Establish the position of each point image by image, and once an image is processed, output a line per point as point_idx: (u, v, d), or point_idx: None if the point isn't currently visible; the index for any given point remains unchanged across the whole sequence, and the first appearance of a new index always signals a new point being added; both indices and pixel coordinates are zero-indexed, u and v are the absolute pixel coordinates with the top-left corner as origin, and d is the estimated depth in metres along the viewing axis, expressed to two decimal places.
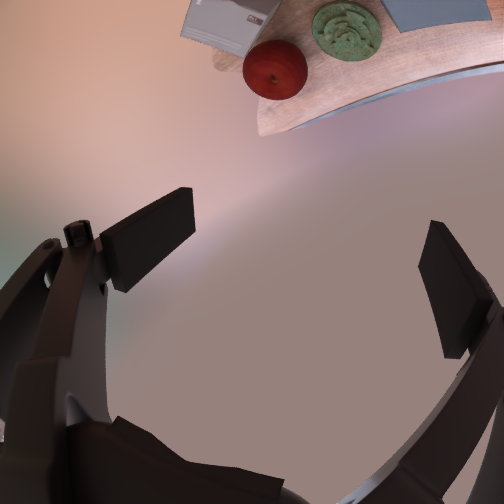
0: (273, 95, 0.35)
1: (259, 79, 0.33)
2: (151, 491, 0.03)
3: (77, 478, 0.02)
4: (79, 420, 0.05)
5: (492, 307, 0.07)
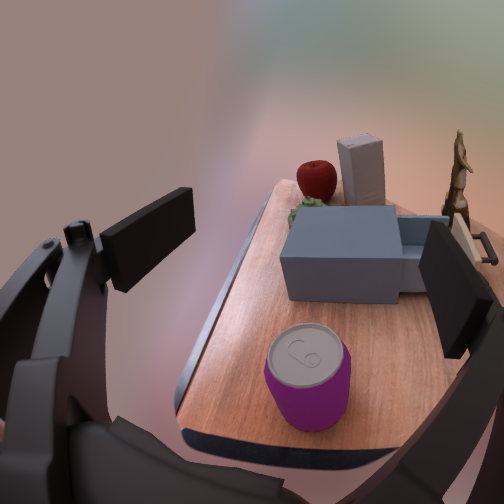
0: (305, 163, 0.62)
1: (318, 163, 0.61)
2: (151, 491, 0.03)
3: (77, 478, 0.02)
4: (79, 420, 0.05)
5: (492, 307, 0.07)
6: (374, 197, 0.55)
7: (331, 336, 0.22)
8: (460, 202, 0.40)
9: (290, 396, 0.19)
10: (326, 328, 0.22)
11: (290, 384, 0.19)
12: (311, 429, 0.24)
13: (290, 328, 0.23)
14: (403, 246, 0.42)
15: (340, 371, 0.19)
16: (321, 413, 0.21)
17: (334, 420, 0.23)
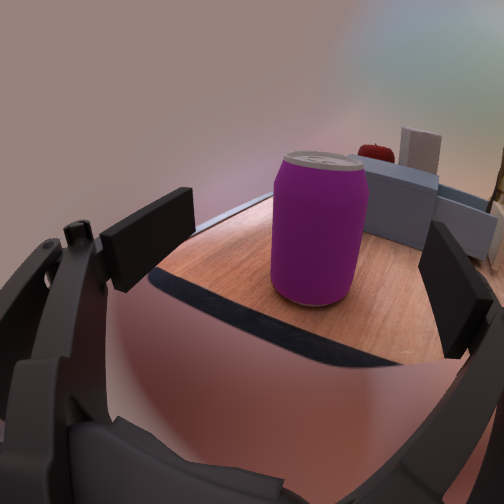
0: None
1: None
2: (151, 491, 0.03)
3: (77, 478, 0.02)
4: (79, 420, 0.05)
5: (492, 307, 0.07)
6: None
7: (354, 163, 0.20)
8: (501, 205, 0.34)
9: (295, 182, 0.19)
10: (350, 157, 0.21)
11: (301, 161, 0.18)
12: (298, 291, 0.22)
13: (316, 152, 0.23)
14: None
15: (356, 175, 0.18)
16: (321, 240, 0.19)
17: (330, 289, 0.21)
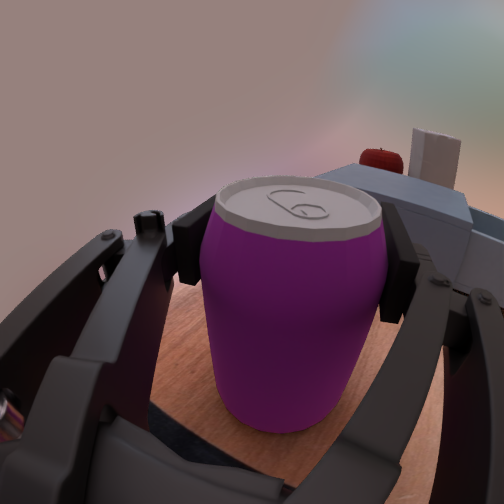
0: None
1: (387, 152, 0.49)
2: (151, 491, 0.03)
3: (93, 492, 0.02)
4: None
5: None
6: None
7: (361, 203, 0.11)
8: None
9: (226, 263, 0.09)
10: (355, 190, 0.11)
11: (238, 217, 0.08)
12: (250, 419, 0.12)
13: (289, 177, 0.13)
14: None
15: (366, 246, 0.08)
16: (282, 372, 0.09)
17: (302, 420, 0.11)
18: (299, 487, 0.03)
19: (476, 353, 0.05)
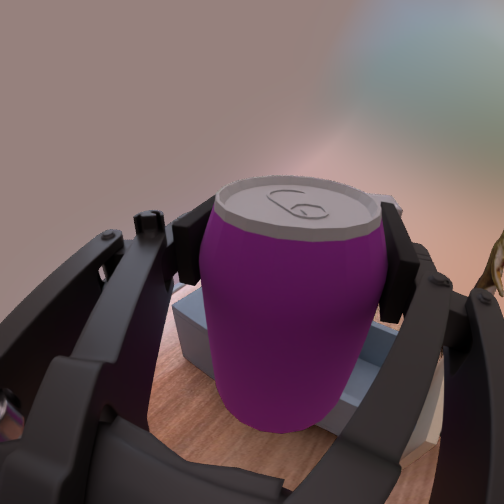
0: None
1: None
2: (151, 491, 0.03)
3: (93, 492, 0.02)
4: None
5: None
6: None
7: (361, 203, 0.11)
8: None
9: (226, 263, 0.09)
10: (354, 190, 0.11)
11: (237, 217, 0.08)
12: (250, 419, 0.12)
13: (289, 177, 0.13)
14: (359, 360, 0.29)
15: (366, 247, 0.08)
16: (282, 372, 0.09)
17: (301, 420, 0.11)
18: (299, 487, 0.03)
19: (476, 353, 0.05)
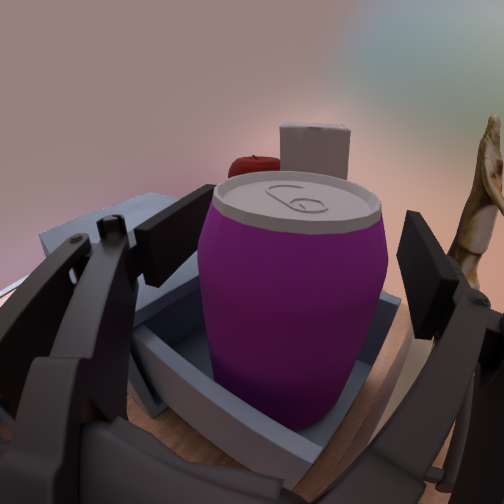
0: None
1: (267, 159, 0.42)
2: (151, 491, 0.03)
3: (85, 484, 0.02)
4: None
5: (461, 289, 0.08)
6: None
7: (360, 198, 0.10)
8: None
9: (224, 257, 0.08)
10: (354, 185, 0.11)
11: (235, 211, 0.08)
12: None
13: (288, 173, 0.12)
14: None
15: (366, 240, 0.08)
16: (281, 369, 0.09)
17: (301, 418, 0.11)
18: (327, 497, 0.02)
19: None
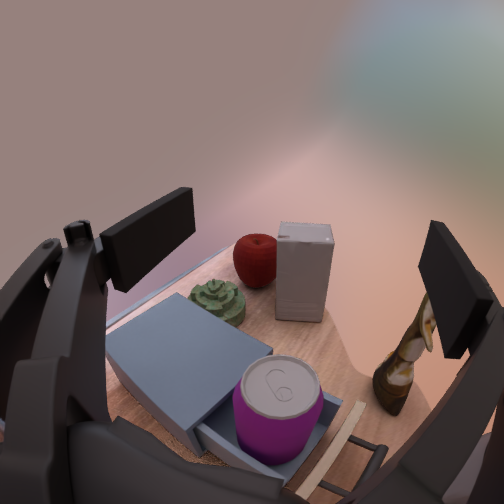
0: (252, 235, 0.53)
1: (266, 239, 0.52)
2: (151, 491, 0.03)
3: (77, 478, 0.02)
4: (79, 421, 0.04)
5: (492, 307, 0.07)
6: (304, 310, 0.44)
7: (313, 380, 0.20)
8: (398, 377, 0.27)
9: (248, 418, 0.18)
10: (311, 370, 0.21)
11: (252, 407, 0.18)
12: (256, 459, 0.21)
13: (278, 356, 0.22)
14: None
15: (306, 415, 0.17)
16: (271, 448, 0.19)
17: (282, 461, 0.21)
18: None
19: None
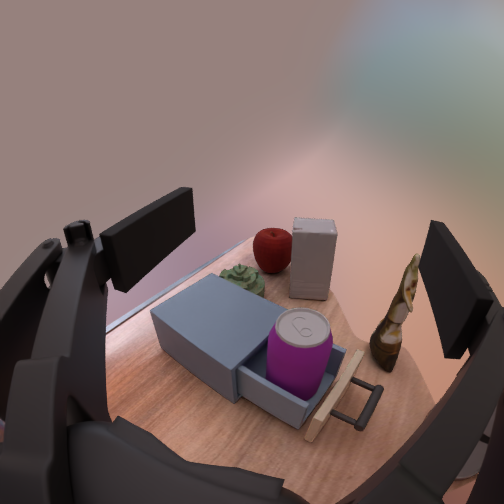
0: (268, 229, 0.64)
1: (281, 233, 0.62)
2: (151, 491, 0.03)
3: (77, 478, 0.02)
4: (79, 420, 0.05)
5: (492, 307, 0.07)
6: (313, 289, 0.54)
7: (325, 324, 0.30)
8: (389, 337, 0.37)
9: (281, 350, 0.28)
10: (324, 317, 0.31)
11: (285, 340, 0.28)
12: None
13: (299, 308, 0.32)
14: None
15: (321, 346, 0.28)
16: (296, 379, 0.29)
17: (302, 397, 0.31)
18: None
19: None
